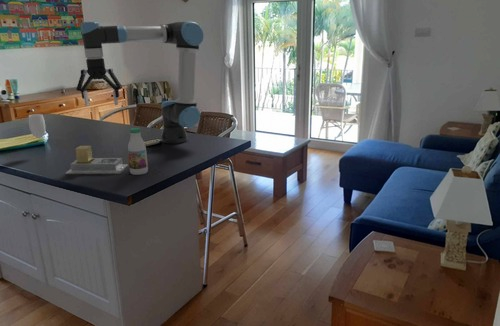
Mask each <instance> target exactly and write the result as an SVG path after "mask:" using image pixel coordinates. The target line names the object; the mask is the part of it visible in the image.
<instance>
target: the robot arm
mask: <svg viewBox="0 0 500 326" xmlns="http://www.w3.org/2000/svg"><path fill="white" fill-rule="evenodd" d="M202 28H203V27H201V26H200V24H198V23H197V22H195V21H190V20H189V21H188V20H187V21H176V22H171V23H161V24H158V25H153V26H152V25H146V26H145V25H140V26H139V25H135V26H134V25H133V26H132V25H127V26H125V25H105V26H104V25H103V26H101V25H100V23H99V22H98V21H83V22H81V24H80V30H81V36H82V43H83V48H84V55H85V58H86V60H85V63H86V67H87V69H81V70H80V77H79V78H78V79H79V80H78V82H77V85H76V91H79V92H81V93H80V94H81V98H82V99H84V105H85V107H88V106H90V101H89V95H88V91H87V89H88V87H89V85H90V84H91V83H92V81H93V80H104V81H105V82H106V83H107V84H108V85H109V86H110V87H111V89H113V91H112V94H113V100H114V106H117V105H119V100H118V98H119V97H120V91H119V90H121V89H122V88H123V86H122V84H121V82H120V81H119V80H118V78H117V77H116V75H115V73H114V71H113V70H114V69H113V68H107V69H106V65H105V59H104V58H103V57H104V52H103V45H104V44H105V45H106V44H122V43H141V42H143V43H145V42H146V43H148V42H150V43H151V42H159V43H161V44H172V45H176V46H175V47H176V50H177V52H178V78H177V80H178V83H177V98H176V99H174V100H165V101H162V102H161V114H162V115H161V118H162V131H161V136H160V141H162V142H161V143H163V144H169V145H170V144H172V145H173V144H175V145H176V144H181V143H185V142H187V141H188V140H189V139H188V137H189V136H188V134H187V131H186V128H189V129H190V128H193V127H196V125H197V124H198V123H199V122H200V119H201V113H200V110H199V109H198V108H197V100H195V86H196V85H195V81H196V80H195V79H196V58H197V57H196V56H197V55H196V54H197V52H198V51H199V50H200V45H201V44H202V42H203V40H204V36H205V35H204V31H203V29H202ZM106 73H107V74H108V75H109V76H110V78H111V79H110V78H109V76H107V74H106ZM87 74H88V75H89V76H88V78H87V80H86V81H85V78H86V75H87ZM84 81H85V82H84Z"/></svg>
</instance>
